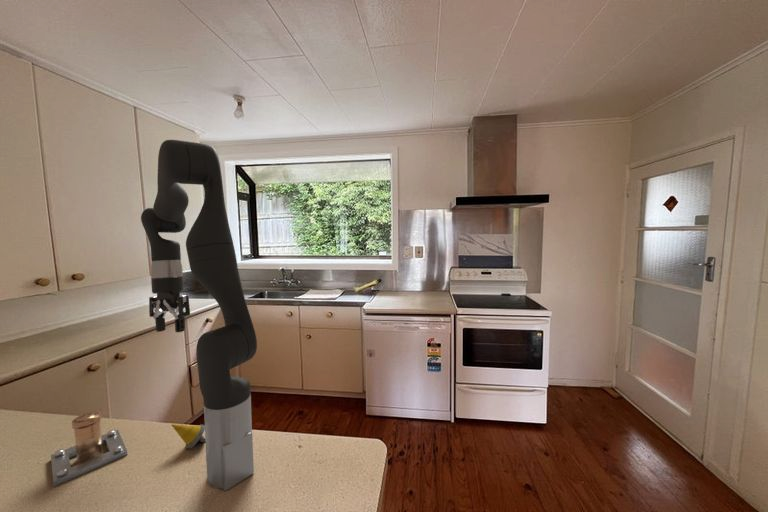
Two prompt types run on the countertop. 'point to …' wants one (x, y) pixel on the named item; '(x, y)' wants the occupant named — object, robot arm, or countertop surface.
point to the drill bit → (190, 434)
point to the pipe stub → (88, 436)
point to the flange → (66, 472)
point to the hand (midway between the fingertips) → (170, 331)
